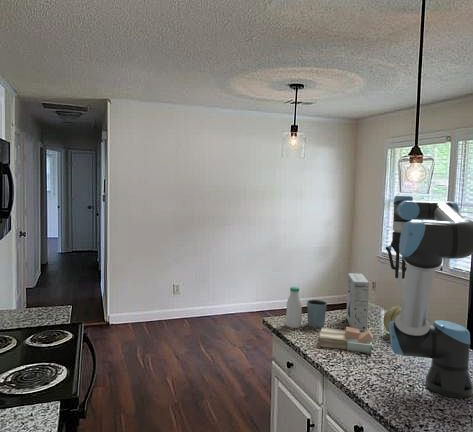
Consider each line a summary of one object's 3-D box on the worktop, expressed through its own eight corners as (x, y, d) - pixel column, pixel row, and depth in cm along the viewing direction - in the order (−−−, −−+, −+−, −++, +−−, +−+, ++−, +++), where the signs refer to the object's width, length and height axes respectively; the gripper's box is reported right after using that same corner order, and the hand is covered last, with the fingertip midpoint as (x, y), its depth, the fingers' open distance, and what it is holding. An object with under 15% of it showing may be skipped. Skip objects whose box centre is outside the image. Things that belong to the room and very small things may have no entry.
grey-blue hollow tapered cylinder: (303, 322, 221) (303, 300, 220) (320, 321, 224) (320, 299, 223) (312, 328, 211) (312, 305, 210) (329, 327, 214) (330, 304, 213)
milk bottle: (300, 329, 210) (302, 289, 209) (285, 327, 212) (286, 288, 210) (301, 324, 218) (302, 286, 216) (286, 323, 219) (287, 285, 218)
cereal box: (346, 317, 231) (348, 273, 229) (360, 318, 230) (362, 273, 228) (351, 330, 209) (353, 281, 208) (367, 331, 208) (369, 282, 207)
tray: (371, 353, 180) (371, 345, 180) (346, 350, 183) (347, 342, 183) (370, 340, 196) (370, 333, 195) (347, 338, 198) (348, 330, 198)
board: (346, 349, 184) (346, 340, 184) (319, 345, 187) (319, 337, 187) (347, 338, 197) (347, 330, 197) (321, 335, 201) (321, 327, 201)
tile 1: (358, 339, 186) (359, 333, 186) (344, 336, 188) (345, 330, 188) (358, 335, 192) (359, 329, 192) (345, 332, 194) (346, 326, 193)
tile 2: (357, 340, 187) (361, 346, 186) (368, 333, 185) (373, 338, 185) (357, 336, 192) (361, 341, 192) (368, 328, 191) (372, 334, 190)
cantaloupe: (383, 339, 197) (385, 308, 196) (381, 329, 211) (383, 300, 210) (417, 343, 193) (419, 311, 192) (413, 333, 207) (414, 303, 206)
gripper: (417, 231, 181) (414, 285, 182) (385, 230, 184) (383, 282, 186) (419, 233, 173) (416, 288, 175) (386, 231, 177) (384, 286, 178)
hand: (399, 285), depth 180 cm, fingers closed
